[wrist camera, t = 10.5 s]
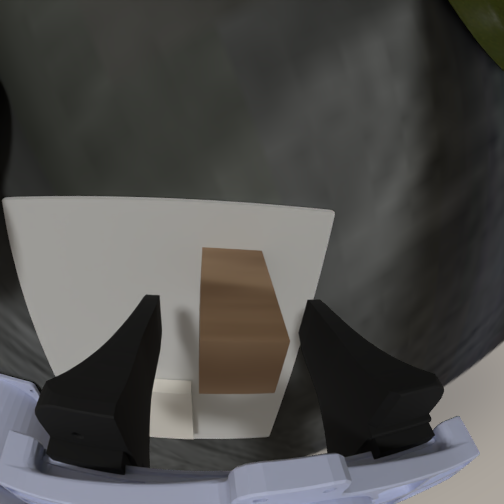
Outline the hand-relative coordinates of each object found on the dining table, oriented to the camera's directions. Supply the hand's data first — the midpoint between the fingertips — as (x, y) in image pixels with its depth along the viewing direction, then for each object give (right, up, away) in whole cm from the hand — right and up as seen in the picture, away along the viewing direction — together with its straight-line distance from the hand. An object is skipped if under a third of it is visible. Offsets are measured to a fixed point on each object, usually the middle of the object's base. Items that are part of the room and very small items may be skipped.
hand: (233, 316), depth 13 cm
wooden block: (0, +2, +3) cm, 3 cm away
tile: (-6, -6, +5) cm, 10 cm away
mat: (-5, -4, +6) cm, 9 cm away
